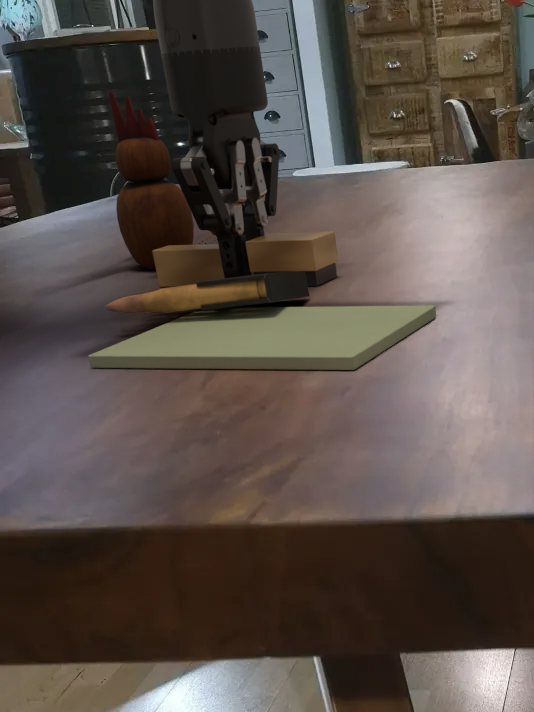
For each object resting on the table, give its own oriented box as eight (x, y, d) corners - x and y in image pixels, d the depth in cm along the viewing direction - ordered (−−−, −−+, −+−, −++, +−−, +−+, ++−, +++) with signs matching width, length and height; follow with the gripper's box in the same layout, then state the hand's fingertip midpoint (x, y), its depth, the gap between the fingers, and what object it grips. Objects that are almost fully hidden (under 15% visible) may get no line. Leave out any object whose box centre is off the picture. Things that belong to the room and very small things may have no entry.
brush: (153, 289, 94) (144, 244, 92) (180, 279, 97) (172, 236, 95) (318, 286, 89) (311, 239, 87) (340, 276, 93) (334, 231, 91)
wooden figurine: (117, 271, 104) (78, 94, 97) (164, 260, 108) (130, 90, 101) (164, 273, 101) (127, 90, 94) (211, 262, 105) (179, 86, 98)
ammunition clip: (267, 273, 73) (97, 293, 75) (272, 302, 74) (103, 322, 75) (305, 270, 83) (154, 288, 85) (309, 296, 84) (159, 313, 85)
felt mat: (90, 368, 69) (87, 355, 68) (205, 318, 80) (203, 307, 80) (354, 370, 63) (352, 356, 63) (436, 317, 75) (435, 305, 74)
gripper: (206, 43, 78) (248, 294, 86) (294, 41, 89) (323, 263, 97) (115, 51, 80) (165, 296, 88) (213, 48, 92) (248, 264, 100)
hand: (248, 277), depth 93 cm, fingers closed on brush, 2 cm apart
